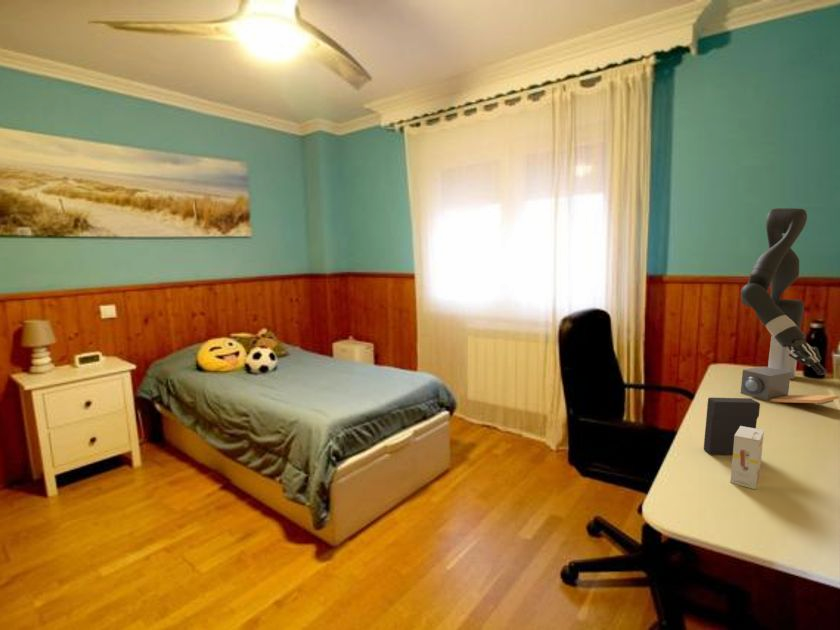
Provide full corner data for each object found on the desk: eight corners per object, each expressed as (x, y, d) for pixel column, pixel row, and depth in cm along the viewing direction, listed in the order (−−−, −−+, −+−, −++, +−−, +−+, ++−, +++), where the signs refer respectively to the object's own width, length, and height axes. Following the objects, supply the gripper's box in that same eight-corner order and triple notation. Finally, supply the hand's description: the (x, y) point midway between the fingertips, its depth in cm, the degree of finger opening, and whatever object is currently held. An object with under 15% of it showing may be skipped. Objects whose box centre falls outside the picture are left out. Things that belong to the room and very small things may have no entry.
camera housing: (760, 391, 166) (763, 366, 165) (787, 398, 158) (790, 372, 157) (736, 396, 161) (739, 370, 160) (763, 404, 153) (766, 376, 151)
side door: (788, 395, 157) (838, 395, 144) (789, 400, 157) (839, 400, 144) (769, 399, 153) (819, 399, 140) (770, 404, 153) (820, 405, 140)
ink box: (735, 469, 108) (739, 424, 106) (760, 476, 104) (765, 429, 103) (728, 482, 102) (733, 434, 100) (755, 490, 98) (760, 441, 97)
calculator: (744, 450, 118) (749, 397, 116) (754, 457, 114) (760, 402, 112) (701, 448, 119) (706, 396, 117) (710, 455, 115) (715, 401, 113)
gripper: (782, 326, 147) (822, 370, 138) (806, 323, 152) (846, 365, 143) (763, 339, 153) (800, 382, 143) (787, 335, 158) (824, 376, 148)
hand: (823, 373), depth 143 cm, fingers closed
